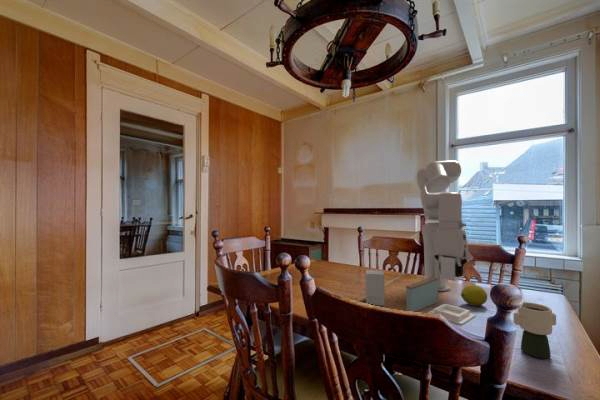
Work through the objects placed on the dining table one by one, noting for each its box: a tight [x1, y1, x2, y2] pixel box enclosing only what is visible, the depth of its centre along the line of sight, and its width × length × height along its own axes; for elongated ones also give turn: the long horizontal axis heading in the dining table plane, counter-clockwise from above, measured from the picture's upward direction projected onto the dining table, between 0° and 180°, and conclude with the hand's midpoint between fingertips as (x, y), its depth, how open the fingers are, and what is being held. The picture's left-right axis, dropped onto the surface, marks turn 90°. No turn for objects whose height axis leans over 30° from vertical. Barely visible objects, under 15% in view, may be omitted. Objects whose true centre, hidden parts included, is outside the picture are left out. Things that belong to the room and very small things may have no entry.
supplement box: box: [365, 269, 386, 306], centre depth 115 cm, size 7×7×13 cm
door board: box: [405, 277, 439, 313], centre depth 110 cm, size 20×2×10 cm, turn 127°
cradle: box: [427, 303, 477, 326], centre depth 101 cm, size 12×12×2 cm
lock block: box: [440, 256, 462, 282], centre depth 101 cm, size 5×5×8 cm
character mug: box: [513, 301, 557, 359], centre depth 75 cm, size 11×7×13 cm, turn 87°
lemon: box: [460, 284, 488, 307], centre depth 111 cm, size 11×8×8 cm
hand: (451, 274), depth 101 cm, fingers closed on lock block, 5 cm apart
